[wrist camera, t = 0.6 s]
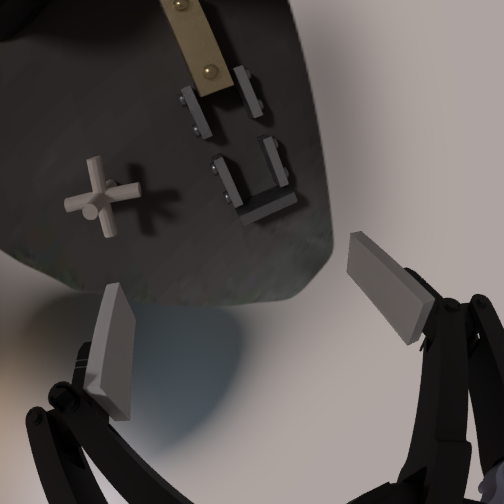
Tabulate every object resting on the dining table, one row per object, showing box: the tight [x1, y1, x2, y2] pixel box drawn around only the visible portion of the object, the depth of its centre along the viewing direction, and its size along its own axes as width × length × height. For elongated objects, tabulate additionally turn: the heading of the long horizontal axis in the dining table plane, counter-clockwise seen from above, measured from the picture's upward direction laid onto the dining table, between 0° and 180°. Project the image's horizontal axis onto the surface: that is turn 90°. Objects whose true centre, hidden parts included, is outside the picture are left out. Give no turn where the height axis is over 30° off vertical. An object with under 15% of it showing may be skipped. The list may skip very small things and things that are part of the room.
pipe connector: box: [64, 156, 141, 238], centre depth 30 cm, size 10×10×10 cm
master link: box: [159, 0, 234, 98], centre depth 26 cm, size 15×4×5 cm, turn 20°
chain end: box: [178, 65, 264, 139], centre depth 31 cm, size 7×9×3 cm
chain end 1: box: [210, 134, 298, 226], centre depth 37 cm, size 9×9×4 cm
